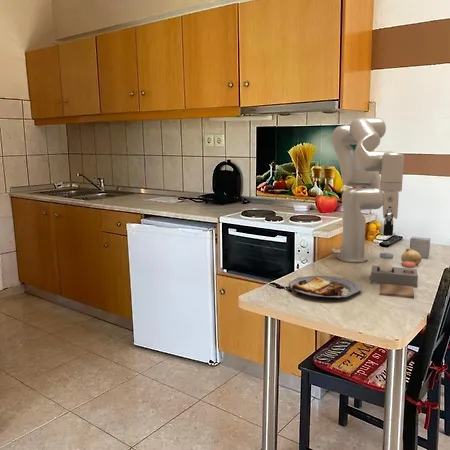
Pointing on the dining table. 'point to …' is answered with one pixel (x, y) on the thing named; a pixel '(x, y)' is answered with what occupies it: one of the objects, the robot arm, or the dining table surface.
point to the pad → (396, 290)
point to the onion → (411, 256)
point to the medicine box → (420, 245)
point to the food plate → (324, 286)
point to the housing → (394, 276)
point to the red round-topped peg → (408, 265)
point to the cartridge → (386, 262)
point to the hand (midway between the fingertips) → (388, 233)
